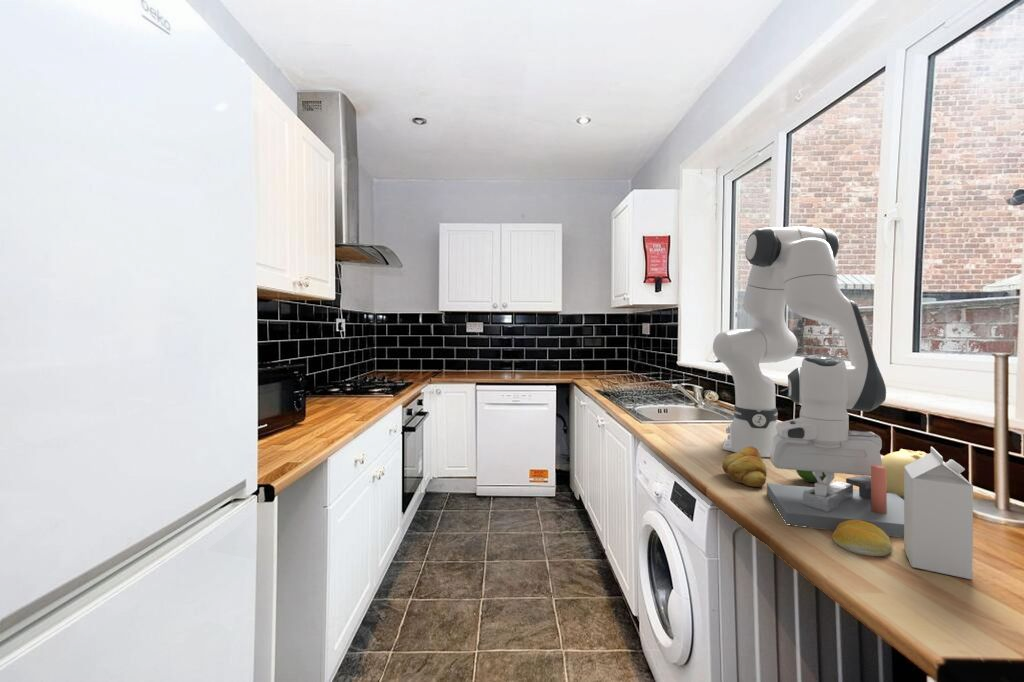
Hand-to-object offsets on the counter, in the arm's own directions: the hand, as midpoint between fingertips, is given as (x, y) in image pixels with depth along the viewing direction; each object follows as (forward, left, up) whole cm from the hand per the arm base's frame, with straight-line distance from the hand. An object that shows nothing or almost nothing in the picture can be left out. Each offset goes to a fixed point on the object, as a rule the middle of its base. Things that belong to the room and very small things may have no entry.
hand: (823, 490), depth 97 cm
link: (+4, 0, -1) cm, 4 cm away
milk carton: (+22, +9, -4) cm, 24 cm away
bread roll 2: (+18, 0, -4) cm, 18 cm away
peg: (+7, +7, -1) cm, 10 cm away
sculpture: (-11, +20, -4) cm, 23 cm away
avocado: (-16, +2, -4) cm, 17 cm away
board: (+4, +2, -3) cm, 6 cm away
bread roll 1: (-13, -13, -4) cm, 19 cm away
